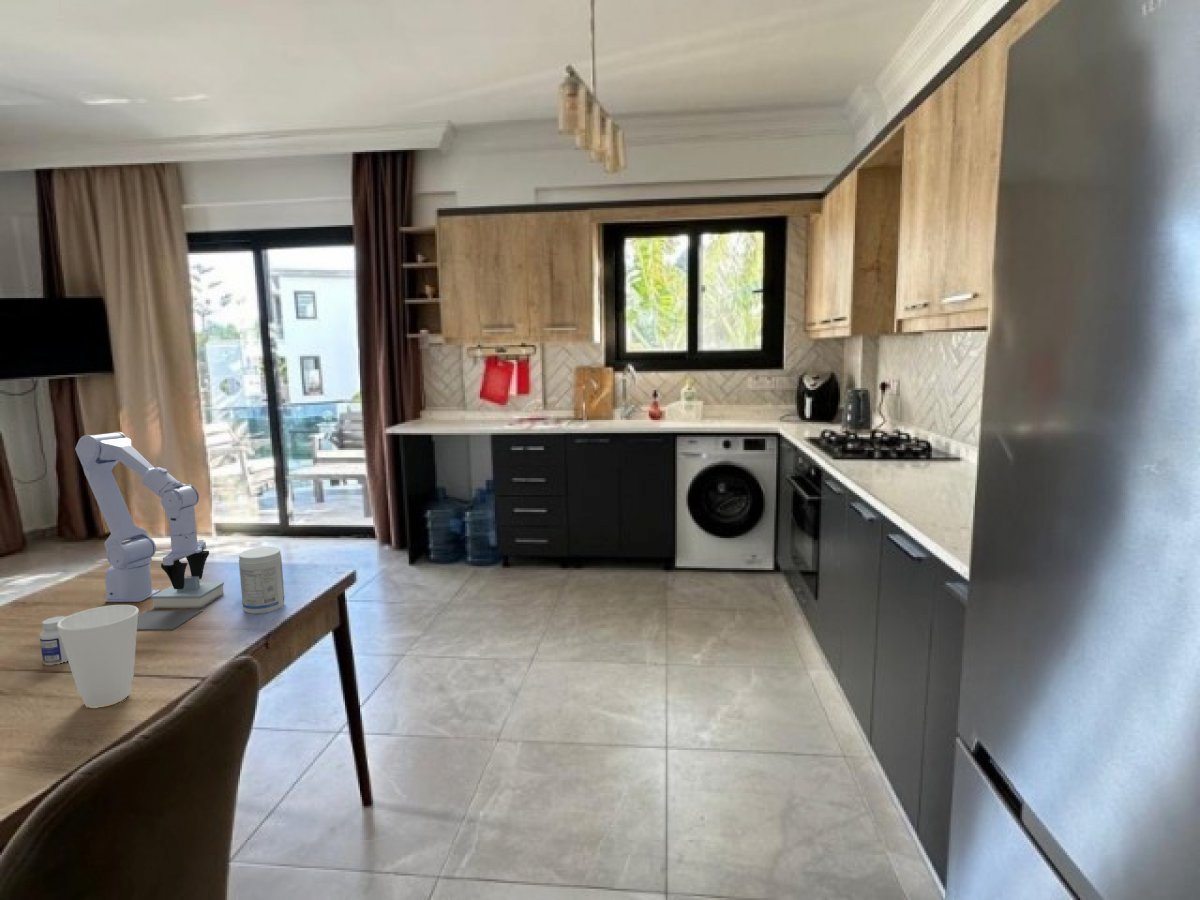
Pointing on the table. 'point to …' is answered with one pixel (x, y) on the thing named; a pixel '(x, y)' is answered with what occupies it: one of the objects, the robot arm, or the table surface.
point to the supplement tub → (261, 580)
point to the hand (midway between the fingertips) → (188, 583)
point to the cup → (101, 651)
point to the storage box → (188, 601)
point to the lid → (188, 589)
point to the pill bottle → (52, 642)
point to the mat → (164, 619)
